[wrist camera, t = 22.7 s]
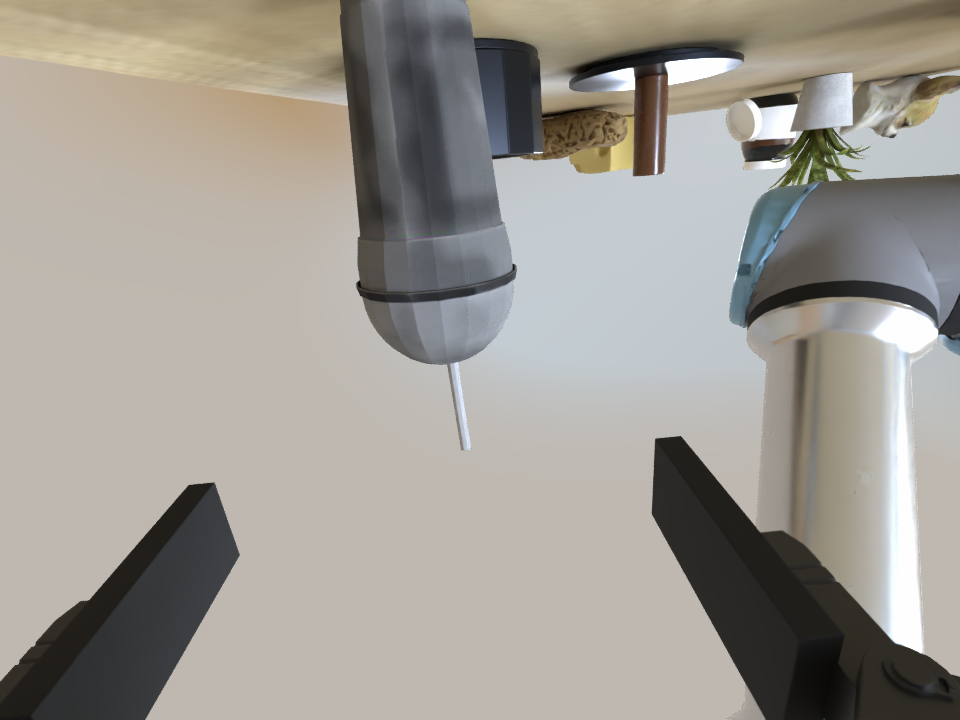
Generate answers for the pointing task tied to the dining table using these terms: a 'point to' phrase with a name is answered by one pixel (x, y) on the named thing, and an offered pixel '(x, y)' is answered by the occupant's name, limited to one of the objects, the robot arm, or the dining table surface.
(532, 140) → the black round bowl
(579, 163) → the cheese
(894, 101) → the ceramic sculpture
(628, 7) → the dining table surface
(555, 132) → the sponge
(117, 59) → the dining table surface
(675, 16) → the dining table surface
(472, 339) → the beverage cup
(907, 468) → the robot arm
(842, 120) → the house plant
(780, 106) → the spread jar
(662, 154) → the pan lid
